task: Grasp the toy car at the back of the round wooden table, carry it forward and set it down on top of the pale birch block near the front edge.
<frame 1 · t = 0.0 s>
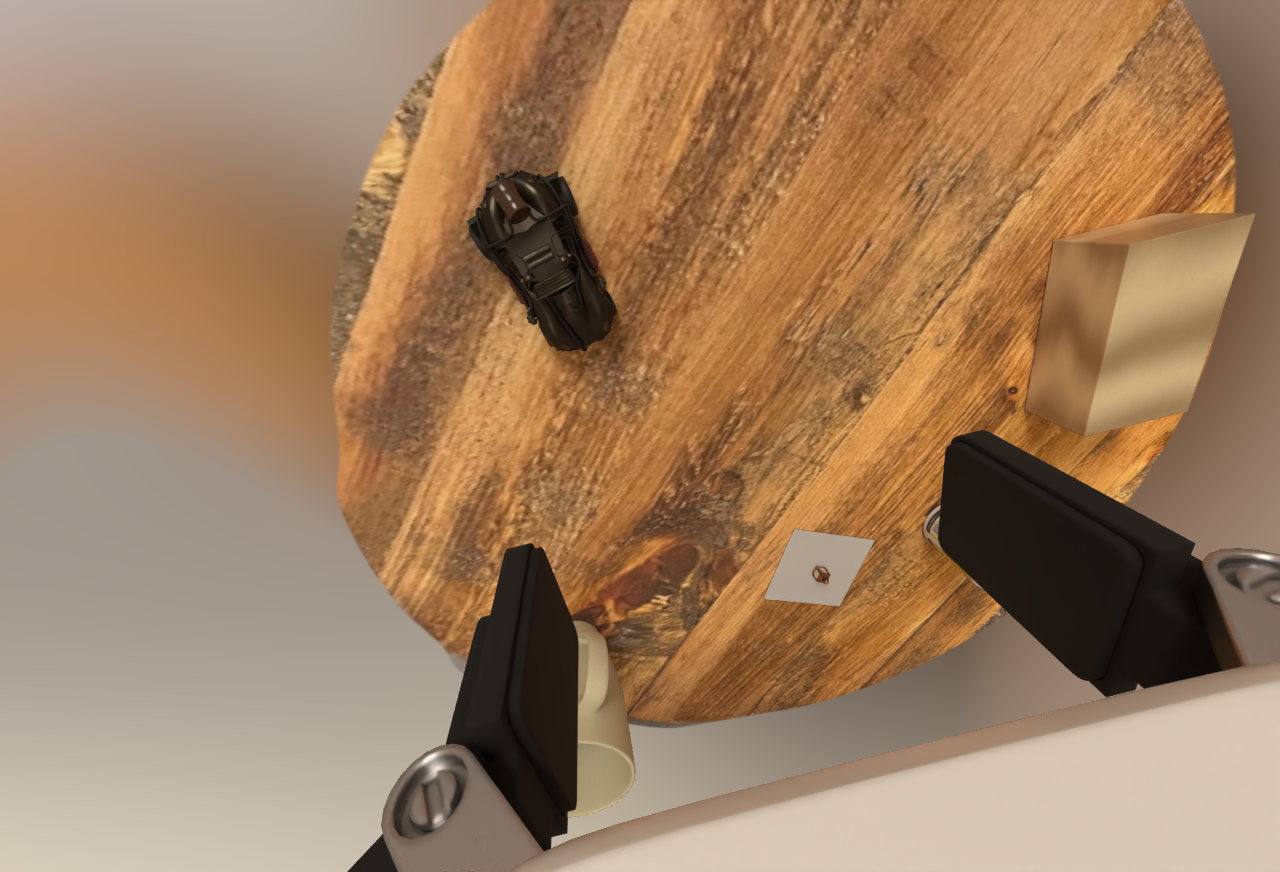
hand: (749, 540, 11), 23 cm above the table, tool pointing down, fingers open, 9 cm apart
supplement bottle: (945, 519, 42), on the table
mug: (574, 629, 43), on the table
gray square plate: (817, 568, 43), on the table
birch block: (1087, 320, 35), on the table
toy car: (556, 274, 29), on the table
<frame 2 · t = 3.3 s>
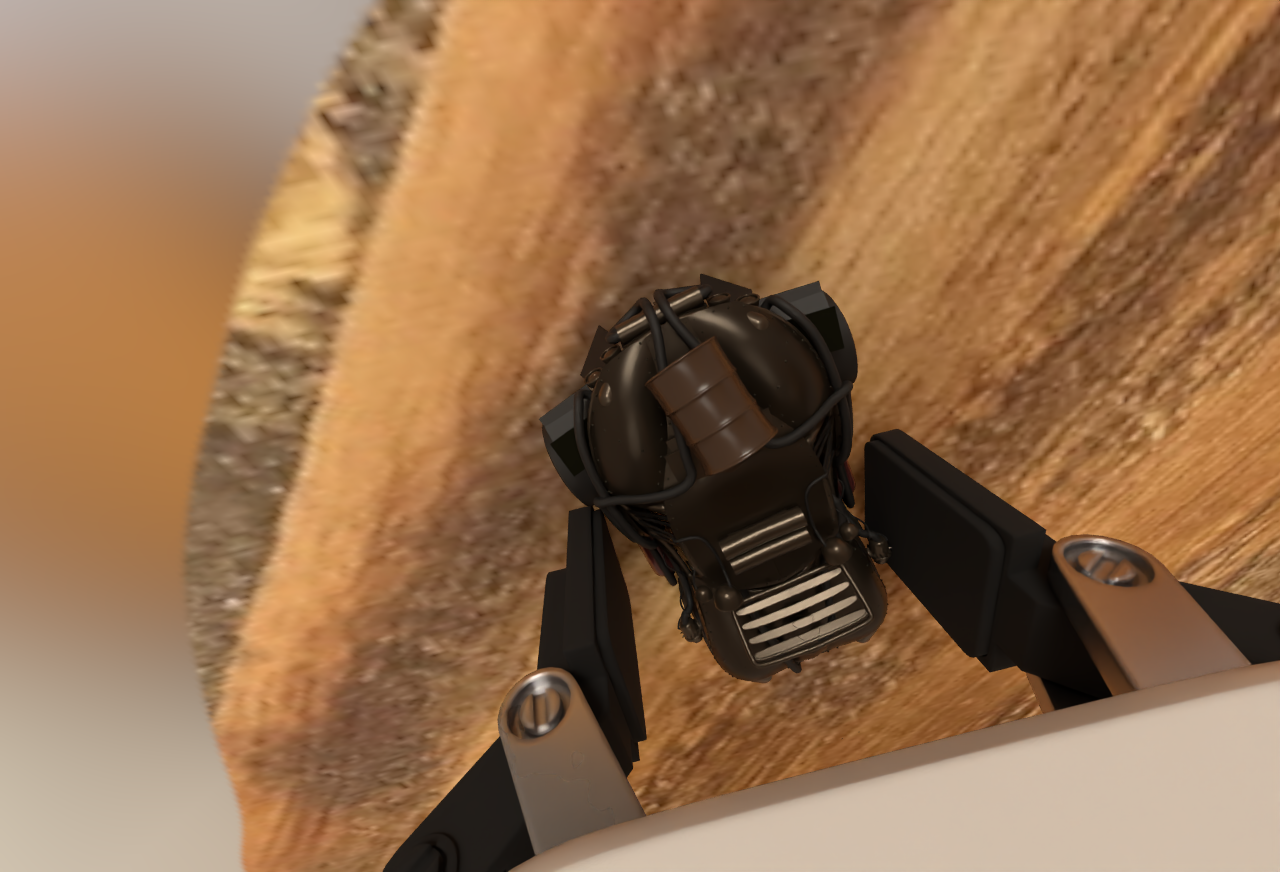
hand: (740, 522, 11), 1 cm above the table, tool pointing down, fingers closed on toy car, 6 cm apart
toy car: (735, 494, 12), on the table, touching gripper
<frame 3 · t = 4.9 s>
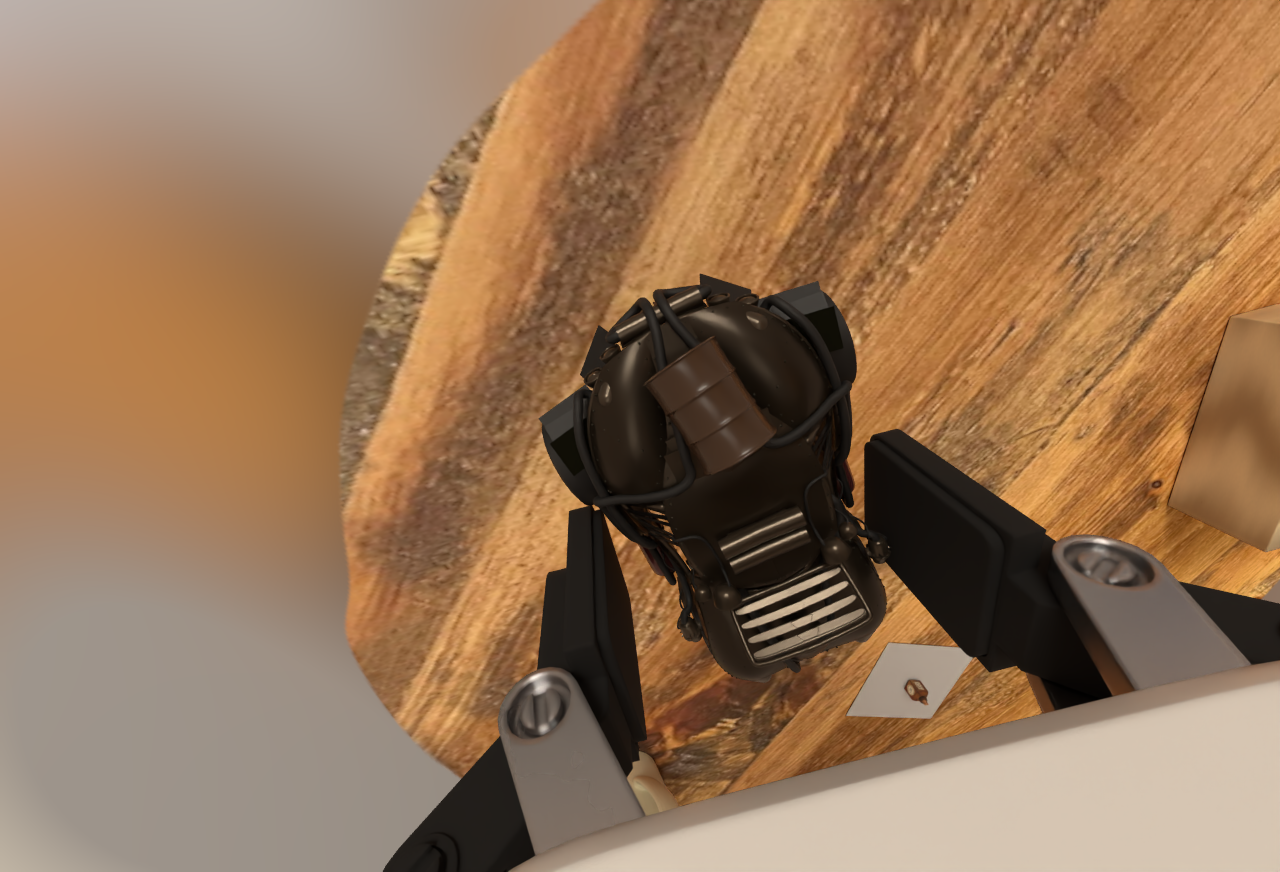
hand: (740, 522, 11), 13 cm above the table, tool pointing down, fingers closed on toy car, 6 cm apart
mug: (624, 758, 36), on the table
gray square plate: (909, 680, 36), on the table
birch block: (1253, 404, 29), on the table
toy car: (734, 494, 12), point 12 cm above the table, touching gripper
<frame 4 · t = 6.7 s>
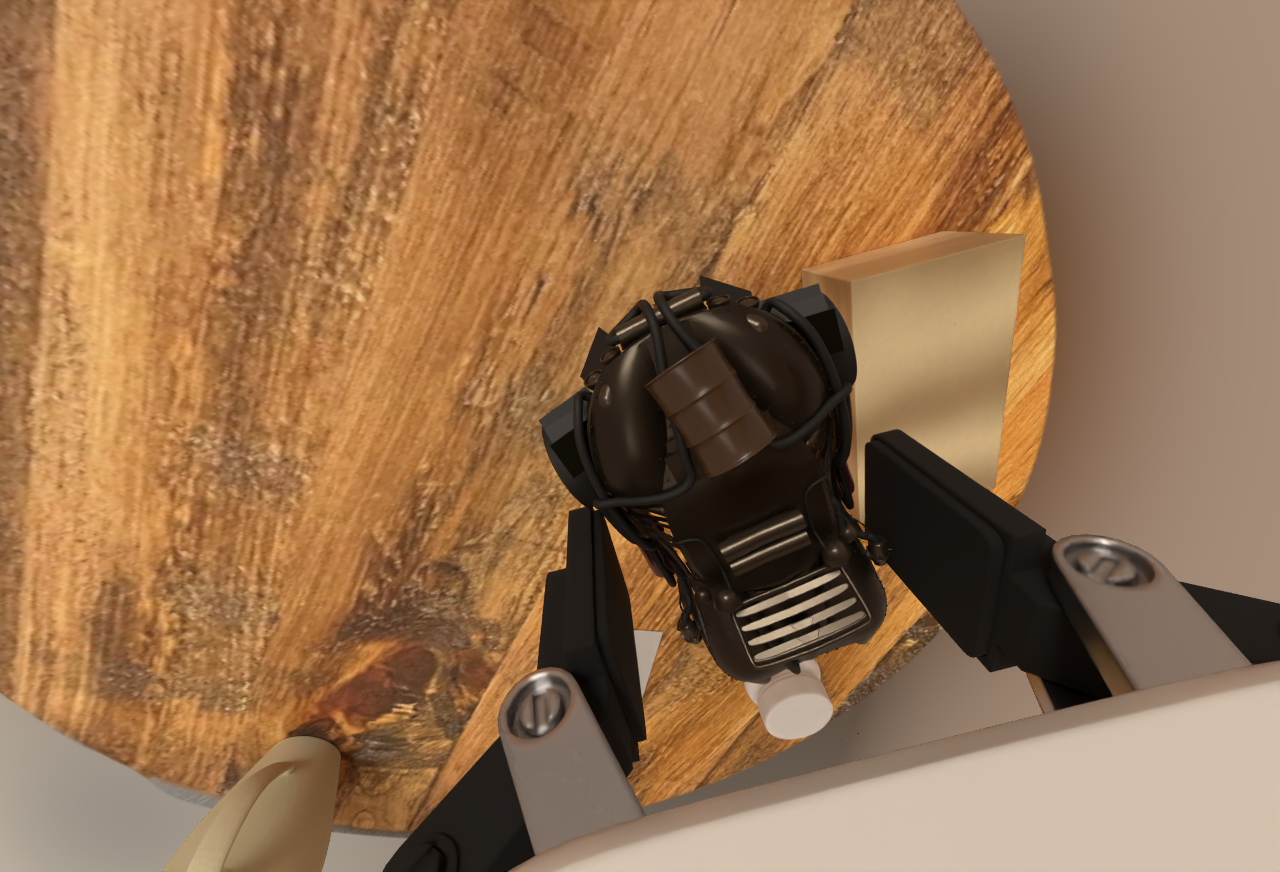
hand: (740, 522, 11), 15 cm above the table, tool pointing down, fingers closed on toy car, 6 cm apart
supplement bottle: (750, 604, 34), on the table
mug: (304, 744, 35), on the table
gray square plate: (599, 665, 35), on the table
birch block: (873, 367, 27), on the table
toy car: (734, 496, 12), point 14 cm above the table, touching gripper
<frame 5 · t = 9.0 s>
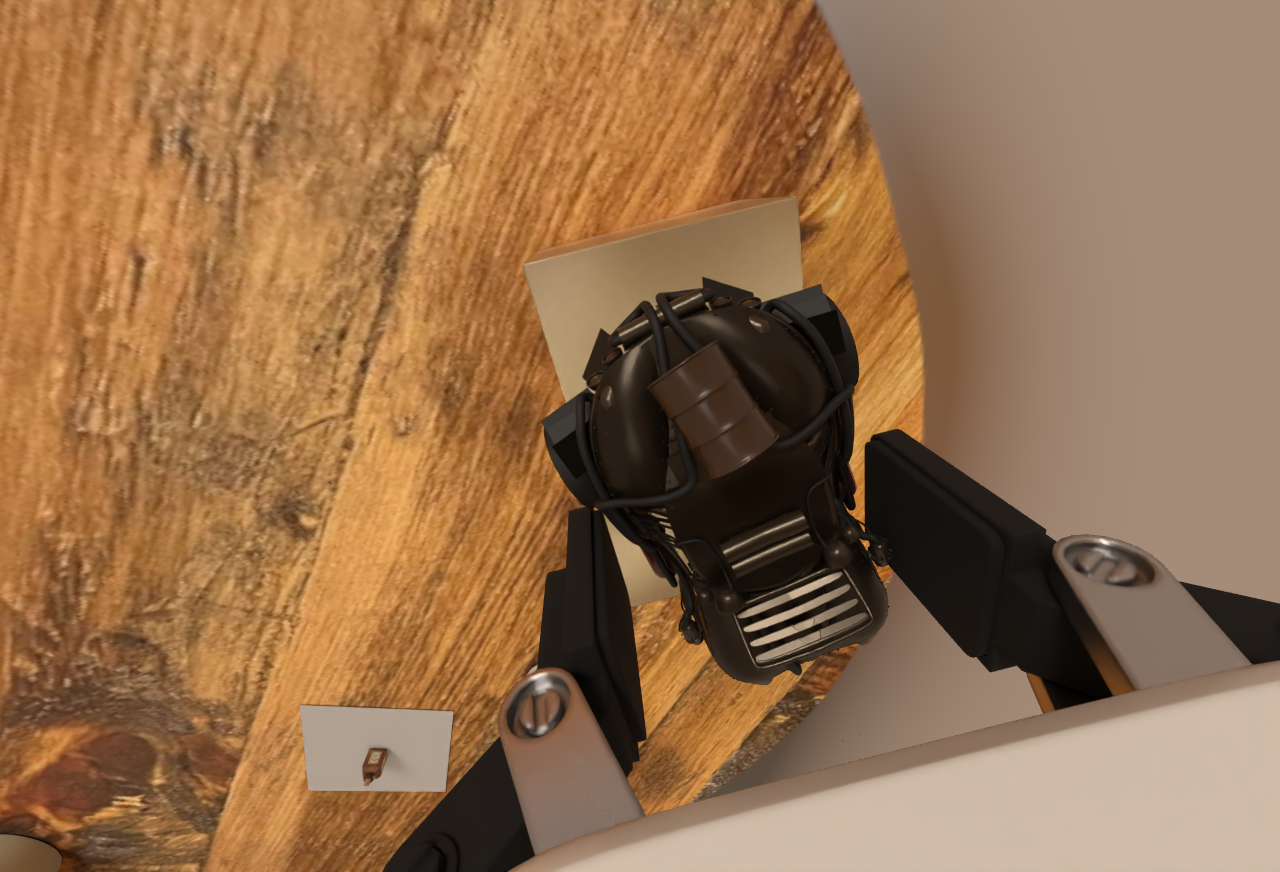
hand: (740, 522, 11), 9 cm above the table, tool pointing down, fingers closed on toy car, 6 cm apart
mug: (7, 842, 28), on the table
gray square plate: (380, 748, 28), on the table
birch block: (672, 388, 20), on the table
toy car: (736, 496, 12), point 8 cm above the table, touching gripper
when the fingers open (6 cm above the table, at t = 10.5 s): toy car stays where it is, resting on birch block.
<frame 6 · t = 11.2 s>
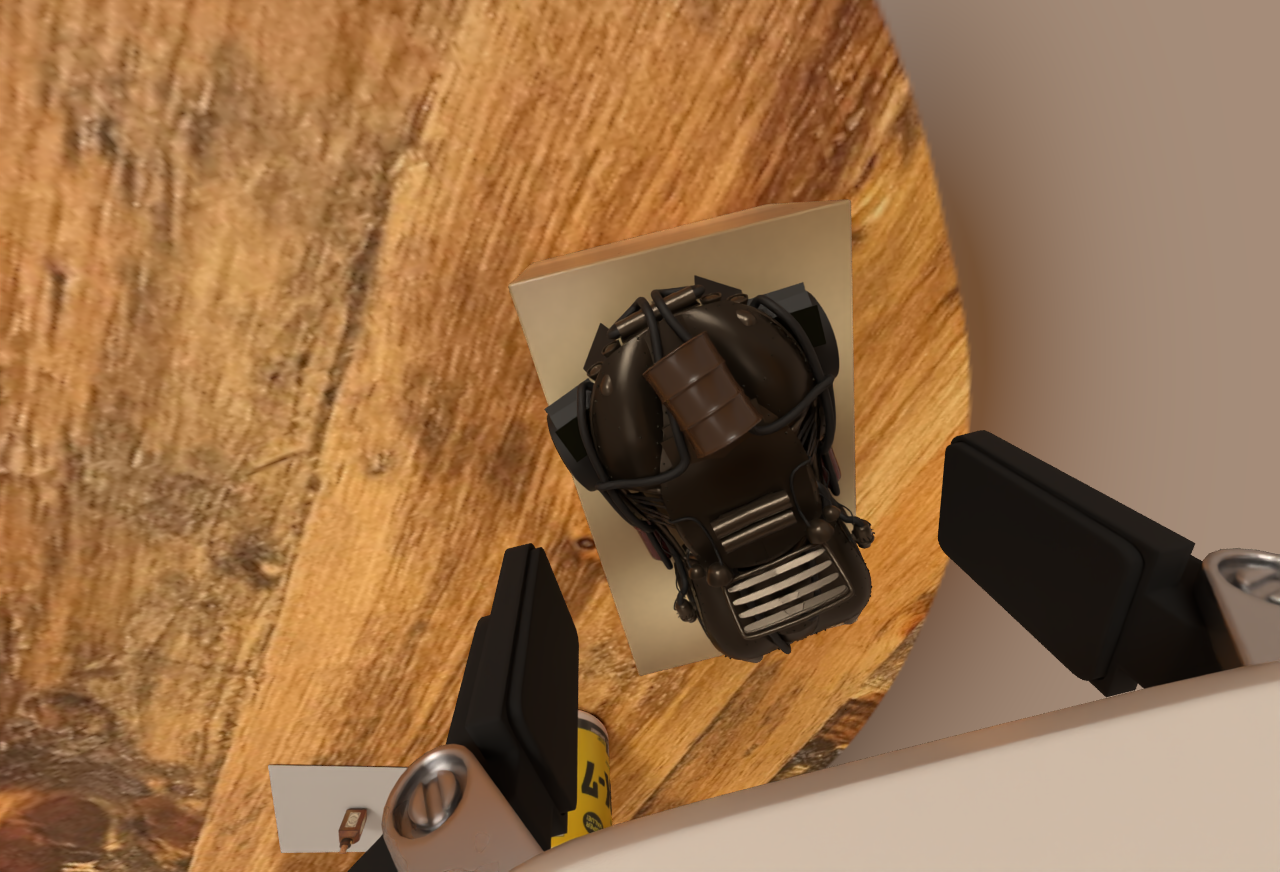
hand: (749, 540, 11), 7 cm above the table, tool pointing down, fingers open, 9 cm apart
supplement bottle: (562, 731, 24), on the table
gray square plate: (359, 807, 25), on the table
birch block: (686, 419, 17), on the table
toy car: (728, 484, 13), point 5 cm above the table, touching birch block
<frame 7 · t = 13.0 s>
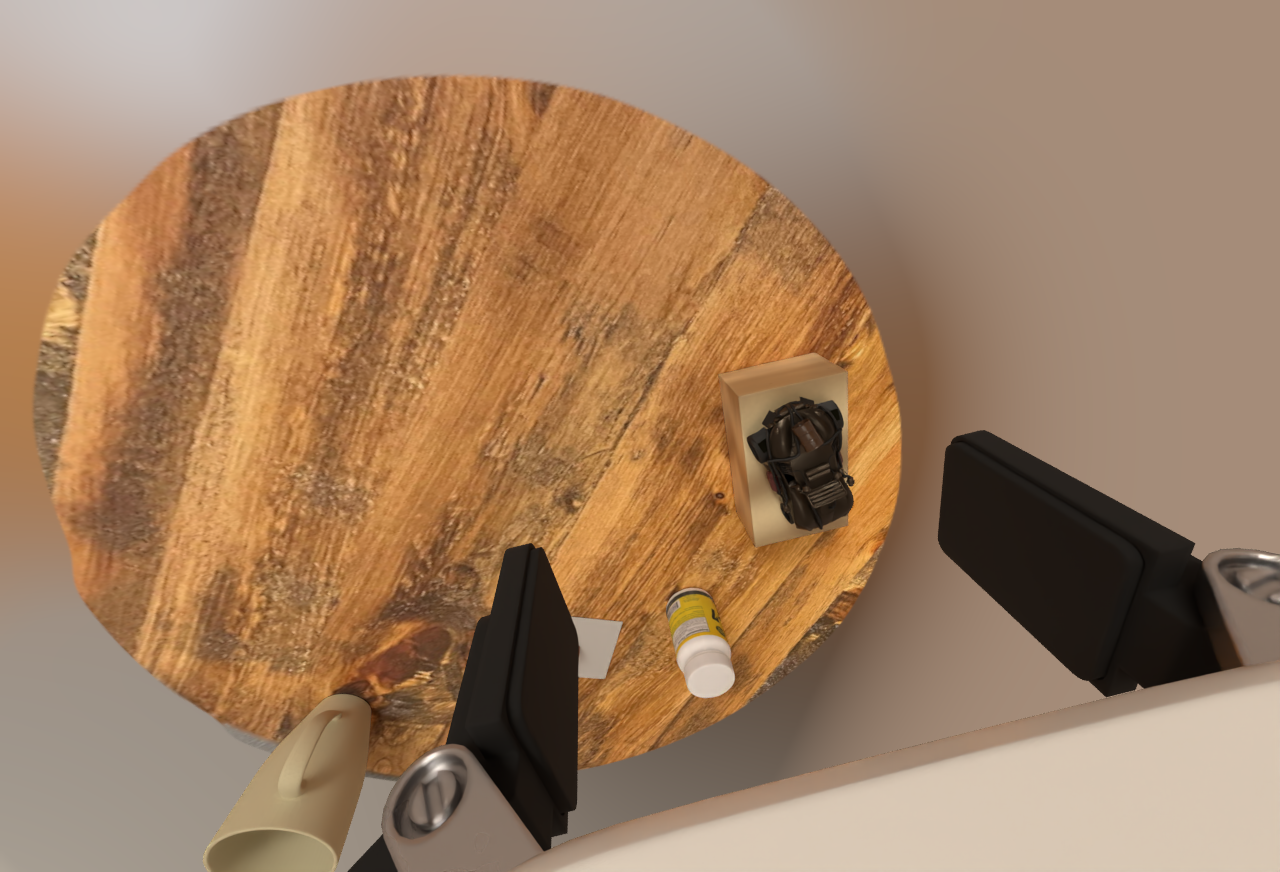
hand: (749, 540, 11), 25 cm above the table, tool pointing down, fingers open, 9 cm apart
supplement bottle: (689, 603, 45), on the table
mug: (344, 701, 45), on the table
gray square plate: (573, 646, 46), on the table
birch block: (772, 437, 38), on the table
toy car: (800, 464, 34), point 5 cm above the table, touching birch block
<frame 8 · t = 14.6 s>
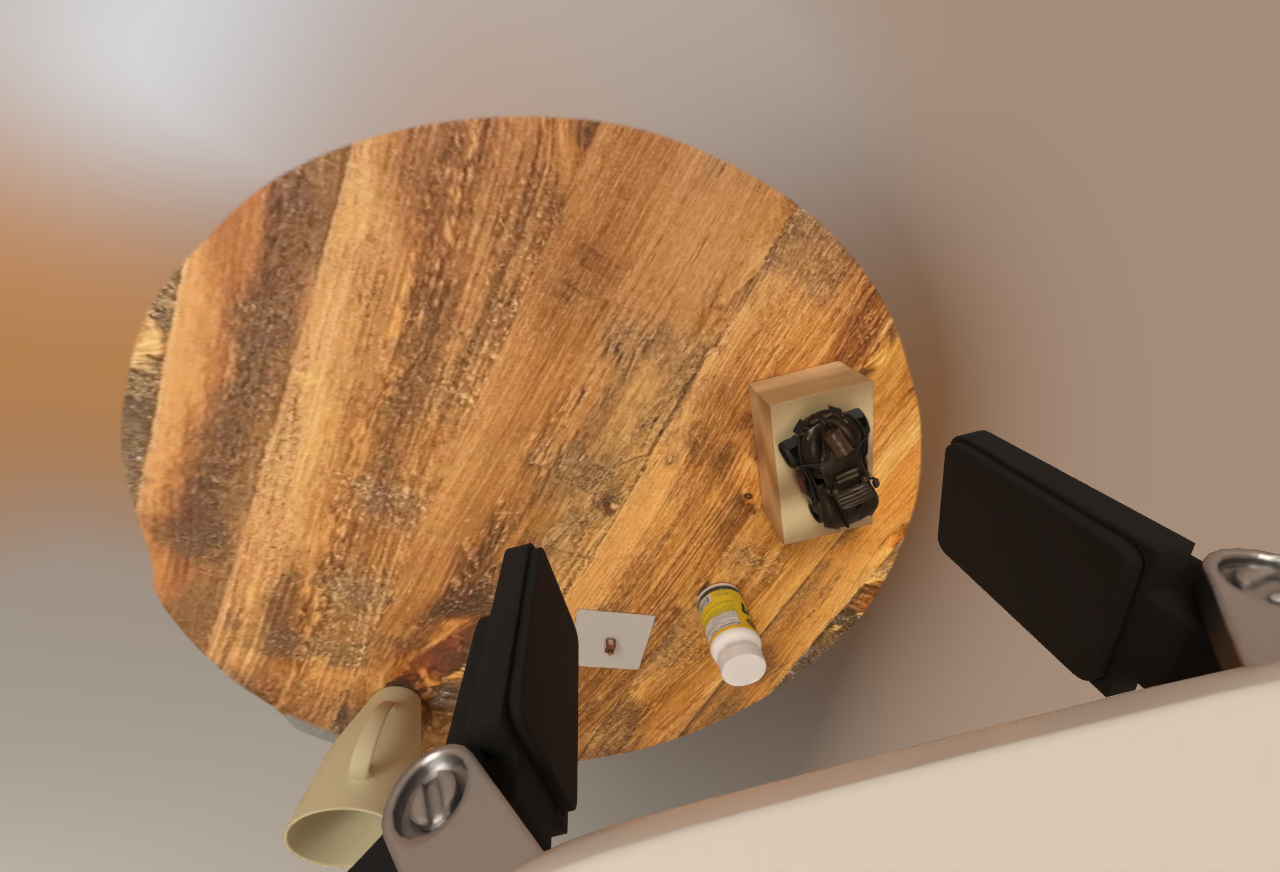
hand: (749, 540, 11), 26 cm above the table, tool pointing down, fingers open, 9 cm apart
supplement bottle: (718, 597, 48), on the table
mug: (395, 692, 48), on the table
gray square plate: (609, 639, 49), on the table
birch block: (798, 441, 40), on the table
toy car: (827, 467, 36), point 5 cm above the table, touching birch block
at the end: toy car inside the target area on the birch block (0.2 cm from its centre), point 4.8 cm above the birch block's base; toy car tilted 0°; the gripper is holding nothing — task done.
